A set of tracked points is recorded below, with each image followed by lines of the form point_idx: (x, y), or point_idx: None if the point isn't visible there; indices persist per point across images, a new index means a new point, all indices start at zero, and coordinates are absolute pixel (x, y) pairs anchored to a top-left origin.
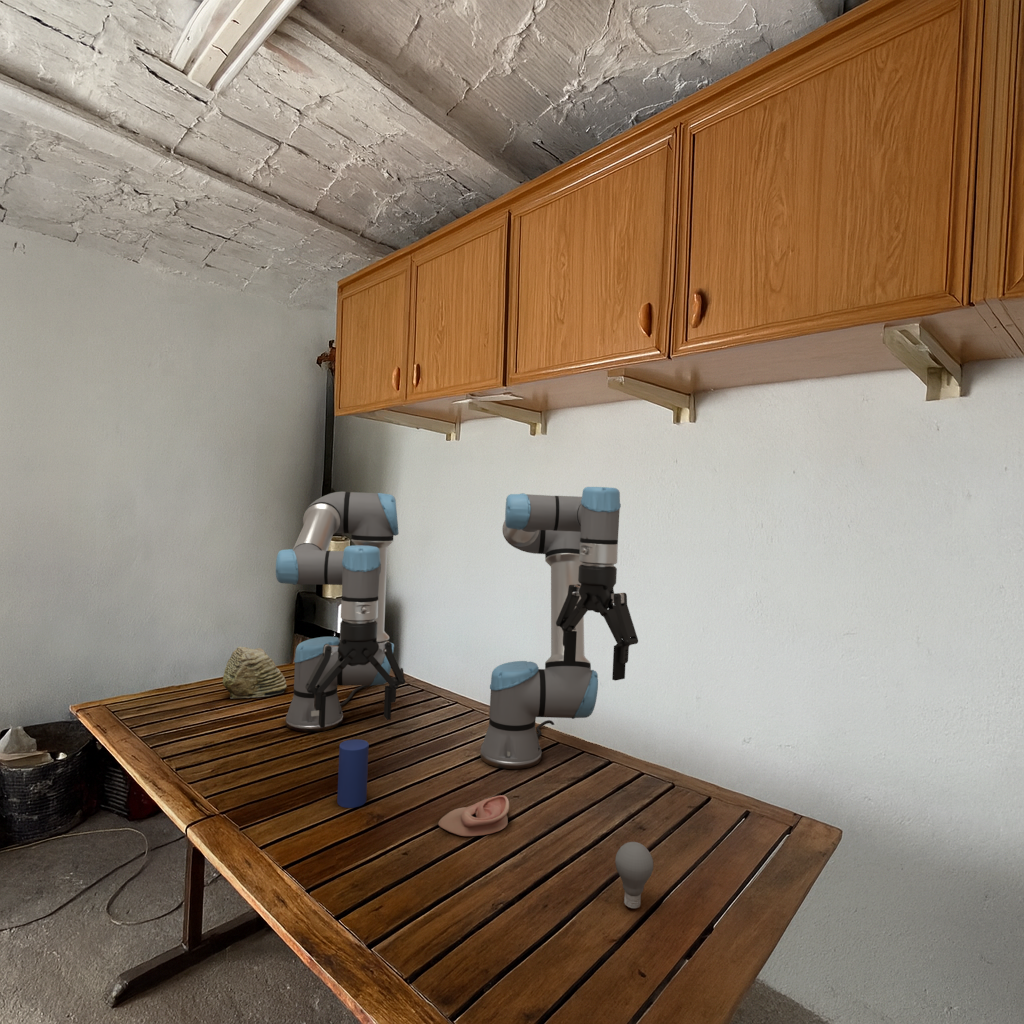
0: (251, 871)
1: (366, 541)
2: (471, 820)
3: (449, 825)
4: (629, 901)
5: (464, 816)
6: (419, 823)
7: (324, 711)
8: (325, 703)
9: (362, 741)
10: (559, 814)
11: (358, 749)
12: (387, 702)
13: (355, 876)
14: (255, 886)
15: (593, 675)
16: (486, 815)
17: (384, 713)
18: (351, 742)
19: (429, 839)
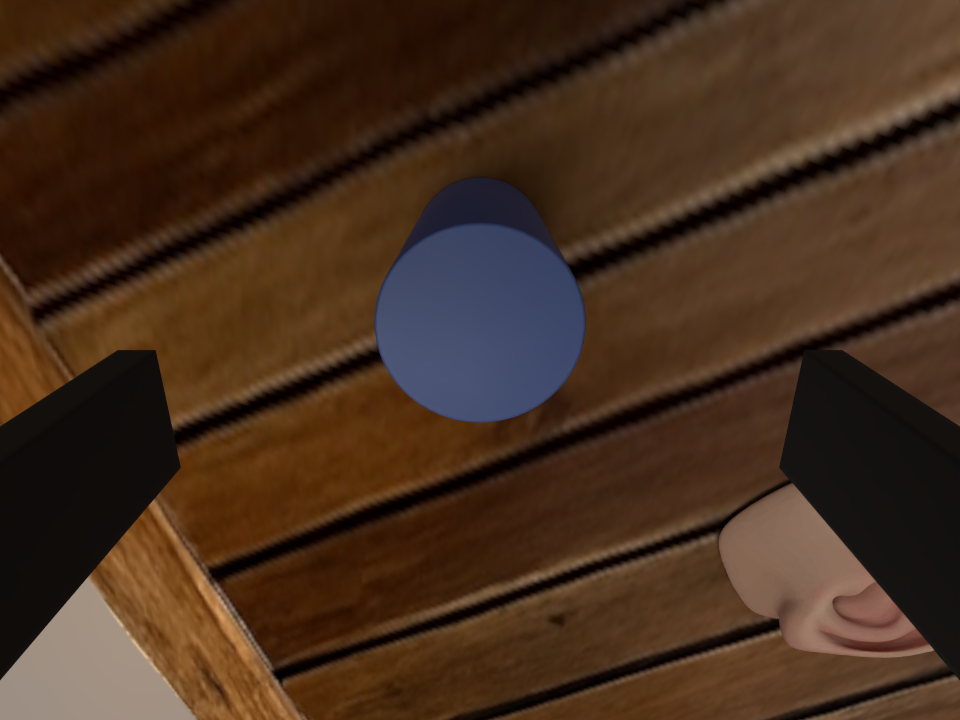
0: (122, 563)
1: None
2: (805, 644)
3: (743, 575)
4: None
5: (798, 624)
6: (668, 492)
7: (82, 574)
8: (23, 650)
9: (552, 292)
10: None
11: (489, 420)
12: (888, 579)
13: (400, 663)
14: (144, 623)
15: None
16: (879, 608)
17: (816, 387)
18: (470, 284)
19: (654, 582)
